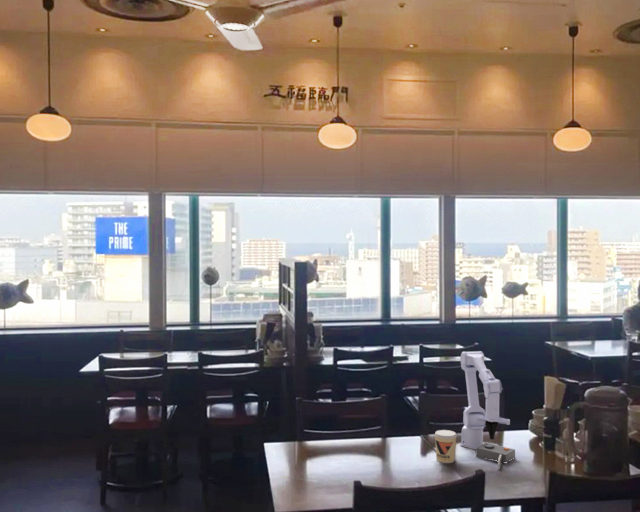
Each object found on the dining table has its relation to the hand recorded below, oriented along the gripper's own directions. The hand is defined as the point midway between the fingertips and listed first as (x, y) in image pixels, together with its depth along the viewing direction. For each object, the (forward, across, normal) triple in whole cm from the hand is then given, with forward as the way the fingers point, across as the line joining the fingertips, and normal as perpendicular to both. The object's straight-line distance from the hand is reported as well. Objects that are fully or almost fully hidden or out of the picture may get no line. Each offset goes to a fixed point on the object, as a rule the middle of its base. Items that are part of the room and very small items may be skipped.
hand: (492, 438), depth 275 cm
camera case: (+10, 0, +6) cm, 11 cm away
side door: (+10, +5, -5) cm, 12 cm away
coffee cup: (+10, -19, -7) cm, 22 cm away
